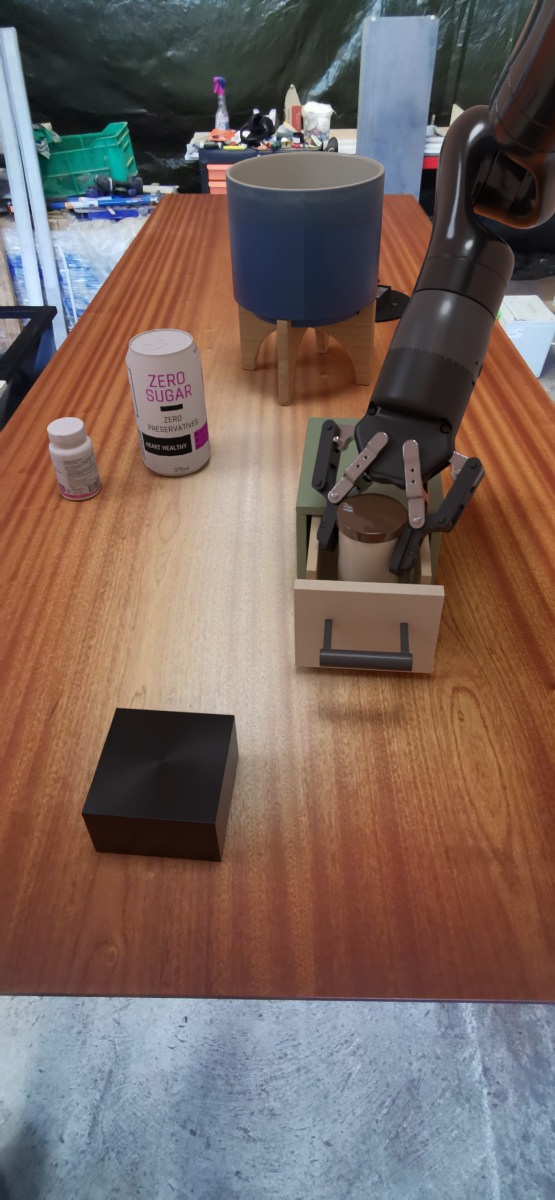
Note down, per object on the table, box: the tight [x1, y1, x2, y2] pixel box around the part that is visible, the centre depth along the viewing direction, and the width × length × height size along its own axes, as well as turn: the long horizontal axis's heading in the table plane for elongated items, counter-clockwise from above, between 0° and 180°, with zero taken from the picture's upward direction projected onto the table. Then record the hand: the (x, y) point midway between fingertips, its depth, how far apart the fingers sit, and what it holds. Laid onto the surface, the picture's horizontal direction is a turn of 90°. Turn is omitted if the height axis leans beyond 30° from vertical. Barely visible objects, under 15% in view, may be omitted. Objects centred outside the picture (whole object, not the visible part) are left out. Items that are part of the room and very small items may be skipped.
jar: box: [336, 493, 408, 584], centre depth 61 cm, size 6×6×9 cm
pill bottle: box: [46, 416, 102, 501], centre depth 83 cm, size 5×5×8 cm
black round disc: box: [375, 278, 411, 323], centre depth 124 cm, size 15×15×6 cm
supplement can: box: [124, 328, 211, 477], centre depth 85 cm, size 8×8×15 cm
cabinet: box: [295, 416, 445, 585], centre depth 73 cm, size 16×13×11 cm
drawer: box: [293, 515, 445, 674], centre depth 63 cm, size 19×12×9 cm, turn 174°
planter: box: [225, 150, 386, 407], centre depth 98 cm, size 19×19×26 cm
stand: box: [80, 707, 240, 862], centre depth 53 cm, size 9×9×5 cm
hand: (360, 561), depth 60 cm, fingers closed on jar, 5 cm apart
